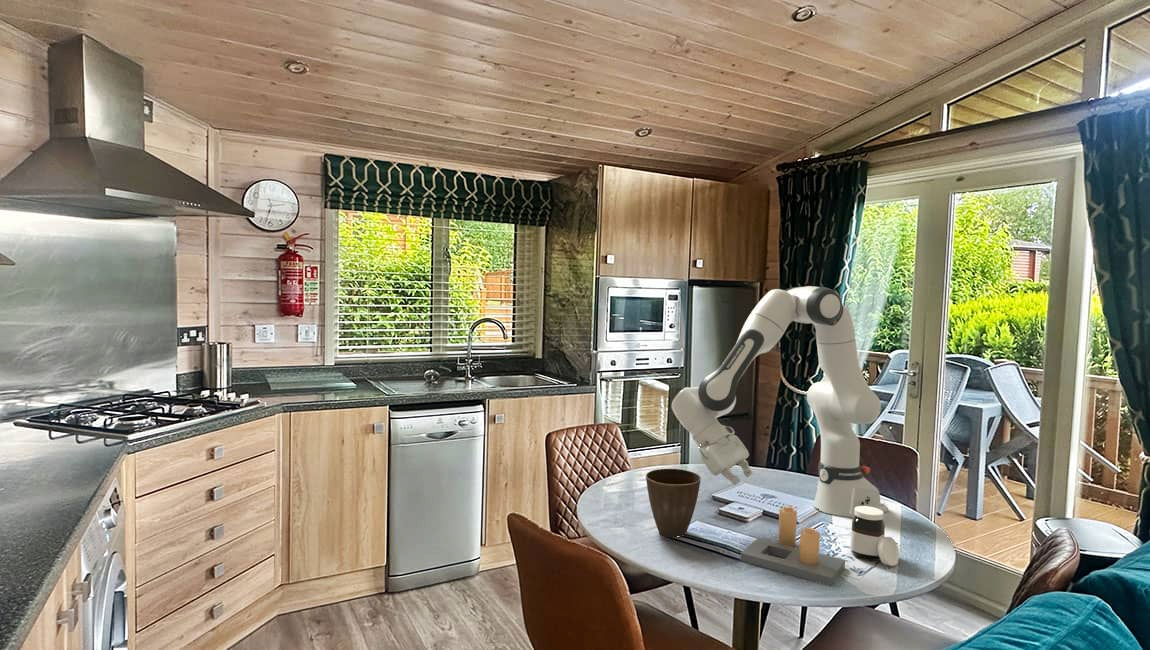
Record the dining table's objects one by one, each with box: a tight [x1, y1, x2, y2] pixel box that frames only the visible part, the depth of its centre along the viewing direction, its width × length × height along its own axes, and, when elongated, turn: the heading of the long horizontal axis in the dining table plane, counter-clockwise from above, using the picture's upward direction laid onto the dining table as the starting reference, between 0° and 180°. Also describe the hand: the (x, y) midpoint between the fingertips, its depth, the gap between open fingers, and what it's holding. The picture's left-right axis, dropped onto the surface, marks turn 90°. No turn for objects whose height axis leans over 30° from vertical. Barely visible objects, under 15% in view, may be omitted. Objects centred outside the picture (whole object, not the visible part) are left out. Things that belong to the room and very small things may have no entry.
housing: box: [739, 526, 846, 586], centre depth 160 cm, size 22×12×10 cm, turn 54°
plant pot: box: [645, 468, 702, 538], centre depth 178 cm, size 15×15×16 cm
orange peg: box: [777, 505, 798, 547], centre depth 172 cm, size 4×4×10 cm
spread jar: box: [850, 506, 900, 567], centre depth 165 cm, size 12×11×12 cm
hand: (744, 479), depth 179 cm, fingers open, 8 cm apart
